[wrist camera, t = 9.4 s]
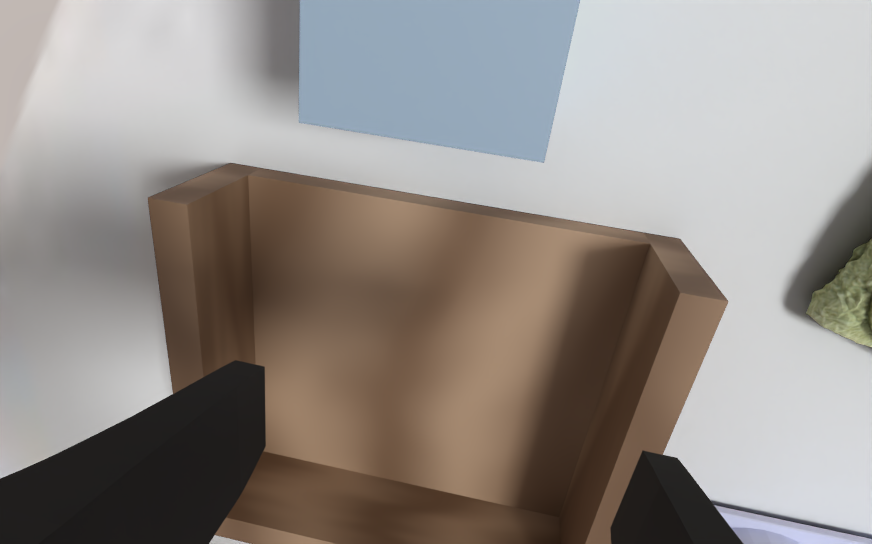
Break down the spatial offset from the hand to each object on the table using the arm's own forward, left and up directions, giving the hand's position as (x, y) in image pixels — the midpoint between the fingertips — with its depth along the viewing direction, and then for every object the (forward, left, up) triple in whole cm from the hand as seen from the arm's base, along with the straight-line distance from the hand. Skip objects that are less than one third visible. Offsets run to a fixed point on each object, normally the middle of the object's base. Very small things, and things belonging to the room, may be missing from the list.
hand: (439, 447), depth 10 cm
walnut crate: (+2, +5, -10) cm, 11 cm away
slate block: (+2, -8, -10) cm, 12 cm away
